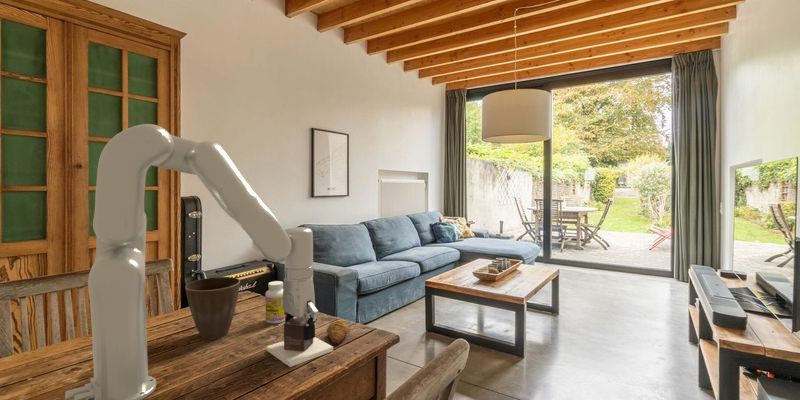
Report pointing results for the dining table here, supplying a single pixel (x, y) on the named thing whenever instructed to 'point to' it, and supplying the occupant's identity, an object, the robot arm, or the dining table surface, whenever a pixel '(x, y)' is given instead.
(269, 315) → the supplement bottle
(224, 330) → the plant pot
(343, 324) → the croissant
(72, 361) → the dining table surface
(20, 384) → the dining table surface
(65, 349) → the dining table surface
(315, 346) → the tile
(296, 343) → the box
